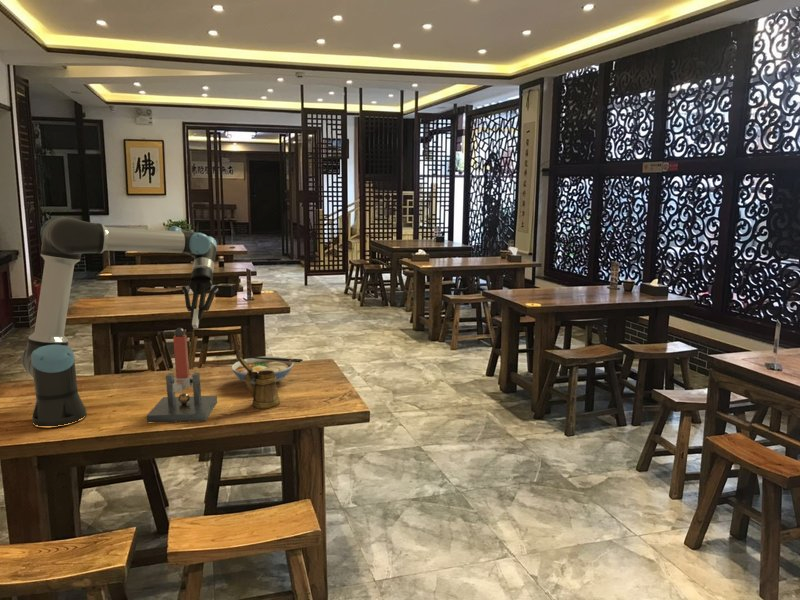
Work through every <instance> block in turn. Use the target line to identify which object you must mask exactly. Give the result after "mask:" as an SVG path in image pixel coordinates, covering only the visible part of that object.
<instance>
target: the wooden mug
mask: <svg viewBox="0 0 800 600" xmlns="http://www.w3.org/2000/svg"><path fill="white" fill-rule="evenodd" d="M236 358H237V360H238V362H240V363H241V364H242V366H243V367H244V368H245V369H246V370H247V371H248V372H247V374H246V376H245V382H244V383H245V386H246V387H247V389H248V391H250V393H251V395H252V405H253V407H254V408H256V409H264V410H265V409H266V408H267V409H271V408H275V407H277V406H279V405H281V401H280V397H279V394H278V388H277V382H276V376H275V375H274V371H271V370H265V371H260V372H258V373H257V371H253V370H252V369H251V368H250V366H249V365H248V364H247V363H246V362H245V361H244V359H245V358H244V359H243V357H241V356H239V355H236ZM253 378H255V379H254V382H255V385H253V384H251V383H250V381H251V380H252V379H253Z"/></svg>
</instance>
